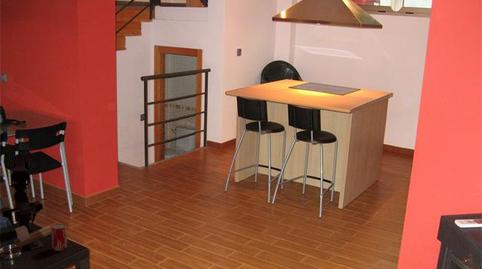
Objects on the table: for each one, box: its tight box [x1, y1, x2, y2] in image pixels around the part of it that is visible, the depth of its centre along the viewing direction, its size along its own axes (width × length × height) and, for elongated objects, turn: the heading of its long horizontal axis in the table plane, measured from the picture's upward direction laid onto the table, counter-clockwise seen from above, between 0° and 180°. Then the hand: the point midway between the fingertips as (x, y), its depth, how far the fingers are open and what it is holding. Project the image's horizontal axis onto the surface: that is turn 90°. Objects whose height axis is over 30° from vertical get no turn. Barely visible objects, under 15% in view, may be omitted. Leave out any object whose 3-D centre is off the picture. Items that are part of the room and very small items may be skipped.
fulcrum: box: [26, 239, 45, 250], centre depth 259 cm, size 8×6×4 cm
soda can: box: [51, 223, 68, 252], centre depth 255 cm, size 7×7×12 cm
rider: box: [14, 226, 30, 243], centre depth 254 cm, size 4×4×6 cm
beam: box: [13, 225, 53, 248], centre depth 258 cm, size 6×18×2 cm, turn 129°
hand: (22, 225), depth 254 cm, fingers open, 9 cm apart
